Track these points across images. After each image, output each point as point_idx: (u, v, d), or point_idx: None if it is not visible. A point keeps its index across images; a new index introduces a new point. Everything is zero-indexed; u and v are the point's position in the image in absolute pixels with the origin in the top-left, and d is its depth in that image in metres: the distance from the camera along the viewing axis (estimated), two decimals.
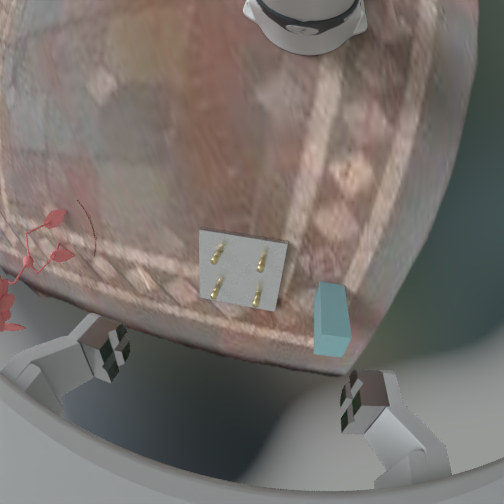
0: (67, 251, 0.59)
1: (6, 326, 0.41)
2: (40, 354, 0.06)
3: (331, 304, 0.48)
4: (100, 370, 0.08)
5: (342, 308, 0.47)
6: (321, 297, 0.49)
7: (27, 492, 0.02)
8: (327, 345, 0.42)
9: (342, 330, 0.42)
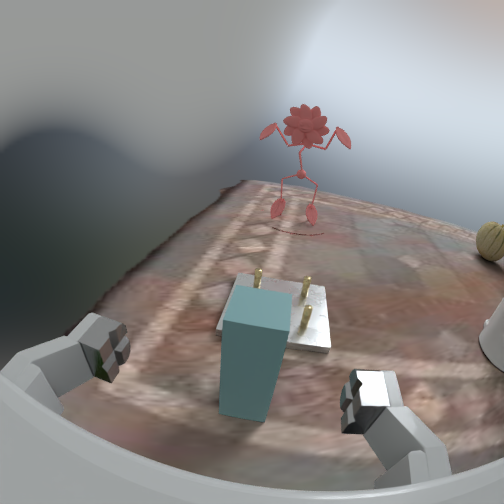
0: (278, 213, 0.83)
1: (272, 128, 0.76)
2: (40, 354, 0.06)
3: None
4: (100, 370, 0.08)
5: None
6: None
7: (27, 492, 0.02)
8: (261, 300, 0.23)
9: None
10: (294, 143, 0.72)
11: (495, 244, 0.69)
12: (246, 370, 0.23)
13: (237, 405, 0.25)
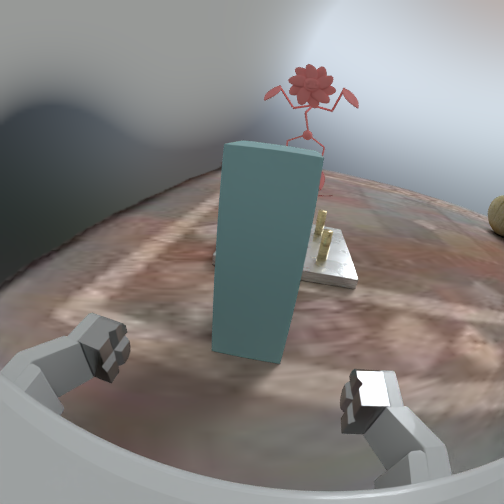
0: None
1: (276, 89, 0.69)
2: (40, 354, 0.06)
3: None
4: (100, 370, 0.08)
5: None
6: None
7: (27, 492, 0.02)
8: (278, 146, 0.16)
9: None
10: (300, 102, 0.65)
11: None
12: (256, 246, 0.15)
13: (240, 330, 0.18)
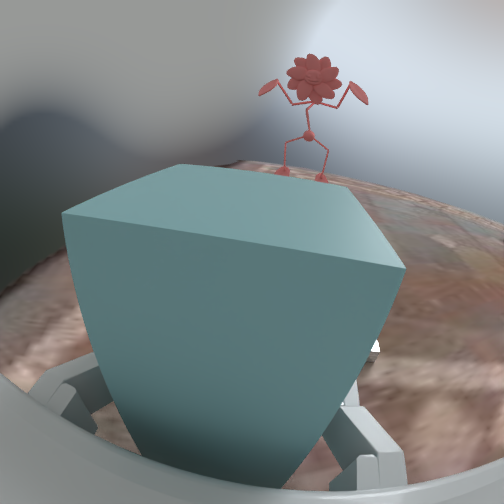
0: None
1: (273, 83, 0.59)
2: (72, 372, 0.06)
3: None
4: None
5: None
6: None
7: (27, 492, 0.02)
8: (252, 183, 0.06)
9: None
10: (300, 98, 0.56)
11: None
12: (197, 435, 0.06)
13: None
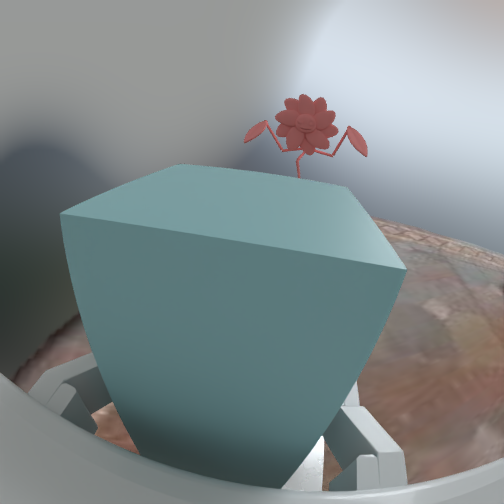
0: None
1: (260, 127, 0.56)
2: (72, 372, 0.06)
3: None
4: None
5: None
6: None
7: (27, 492, 0.02)
8: (252, 182, 0.06)
9: None
10: (290, 147, 0.53)
11: None
12: (197, 437, 0.06)
13: None
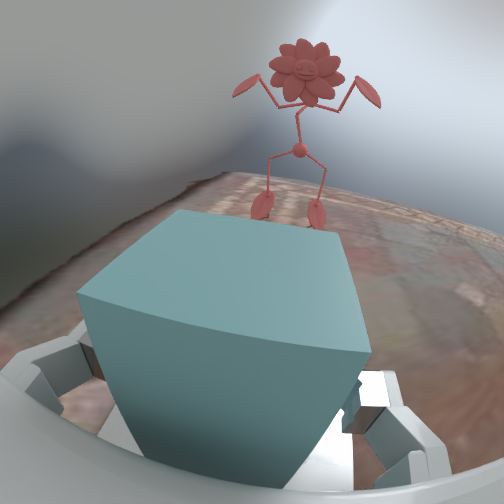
0: (264, 214, 0.52)
1: (252, 80, 0.44)
2: (40, 354, 0.06)
3: None
4: (100, 370, 0.08)
5: None
6: None
7: (27, 492, 0.02)
8: (246, 241, 0.07)
9: None
10: (287, 98, 0.41)
11: None
12: (202, 456, 0.06)
13: None
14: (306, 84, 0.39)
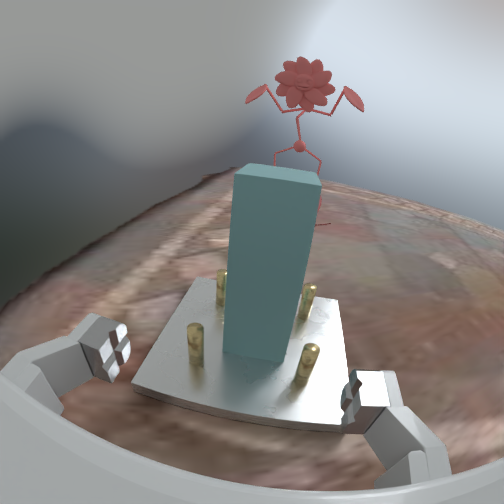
0: None
1: (261, 90, 0.56)
2: (40, 354, 0.06)
3: None
4: (100, 370, 0.08)
5: None
6: None
7: (27, 492, 0.02)
8: (281, 170, 0.18)
9: None
10: (289, 105, 0.52)
11: None
12: (263, 261, 0.18)
13: (248, 333, 0.20)
14: (304, 94, 0.50)
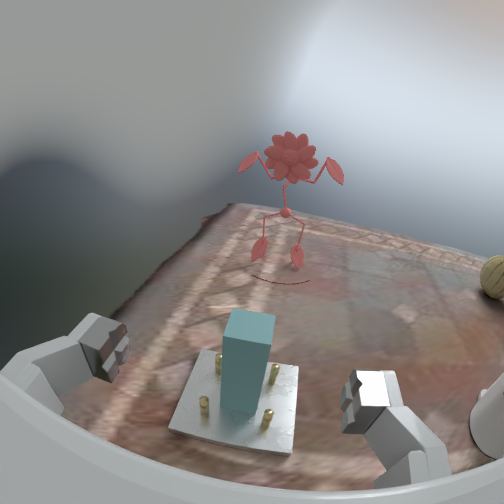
0: (260, 255, 0.76)
1: (252, 158, 0.68)
2: (40, 354, 0.06)
3: None
4: (100, 370, 0.08)
5: None
6: None
7: (27, 492, 0.02)
8: (252, 320, 0.31)
9: None
10: (277, 178, 0.64)
11: (501, 282, 0.61)
12: (240, 372, 0.30)
13: (234, 400, 0.33)
14: (290, 168, 0.63)
